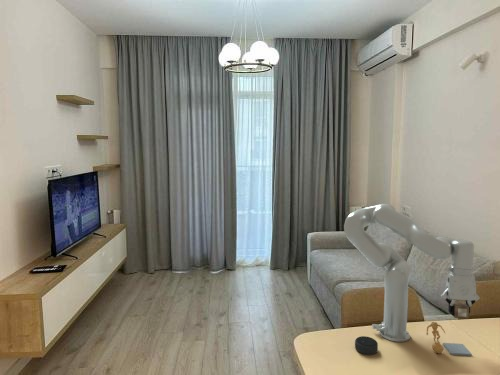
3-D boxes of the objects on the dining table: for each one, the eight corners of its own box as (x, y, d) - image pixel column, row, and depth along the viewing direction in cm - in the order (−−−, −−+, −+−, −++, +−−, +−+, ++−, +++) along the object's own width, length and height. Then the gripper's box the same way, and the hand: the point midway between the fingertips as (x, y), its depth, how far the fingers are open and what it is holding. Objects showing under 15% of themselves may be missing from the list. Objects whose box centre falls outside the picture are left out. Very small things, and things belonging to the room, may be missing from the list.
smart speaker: (350, 347, 154) (350, 337, 154) (367, 342, 158) (367, 333, 157) (364, 357, 146) (365, 348, 146) (382, 353, 150) (382, 343, 149)
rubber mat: (450, 354, 148) (450, 352, 148) (442, 344, 156) (442, 342, 156) (471, 356, 148) (471, 354, 147) (462, 345, 155) (462, 343, 155)
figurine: (431, 356, 147) (432, 327, 146) (421, 348, 153) (423, 320, 152) (449, 354, 149) (451, 325, 148) (439, 346, 155) (441, 319, 153)
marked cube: (455, 318, 148) (456, 306, 148) (449, 312, 153) (450, 301, 153) (468, 318, 148) (469, 306, 147) (462, 313, 153) (463, 301, 152)
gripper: (443, 273, 146) (440, 317, 148) (488, 274, 144) (485, 319, 146) (435, 267, 153) (433, 309, 155) (479, 268, 152) (476, 311, 153)
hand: (458, 314), depth 151 cm, fingers closed on marked cube, 5 cm apart
